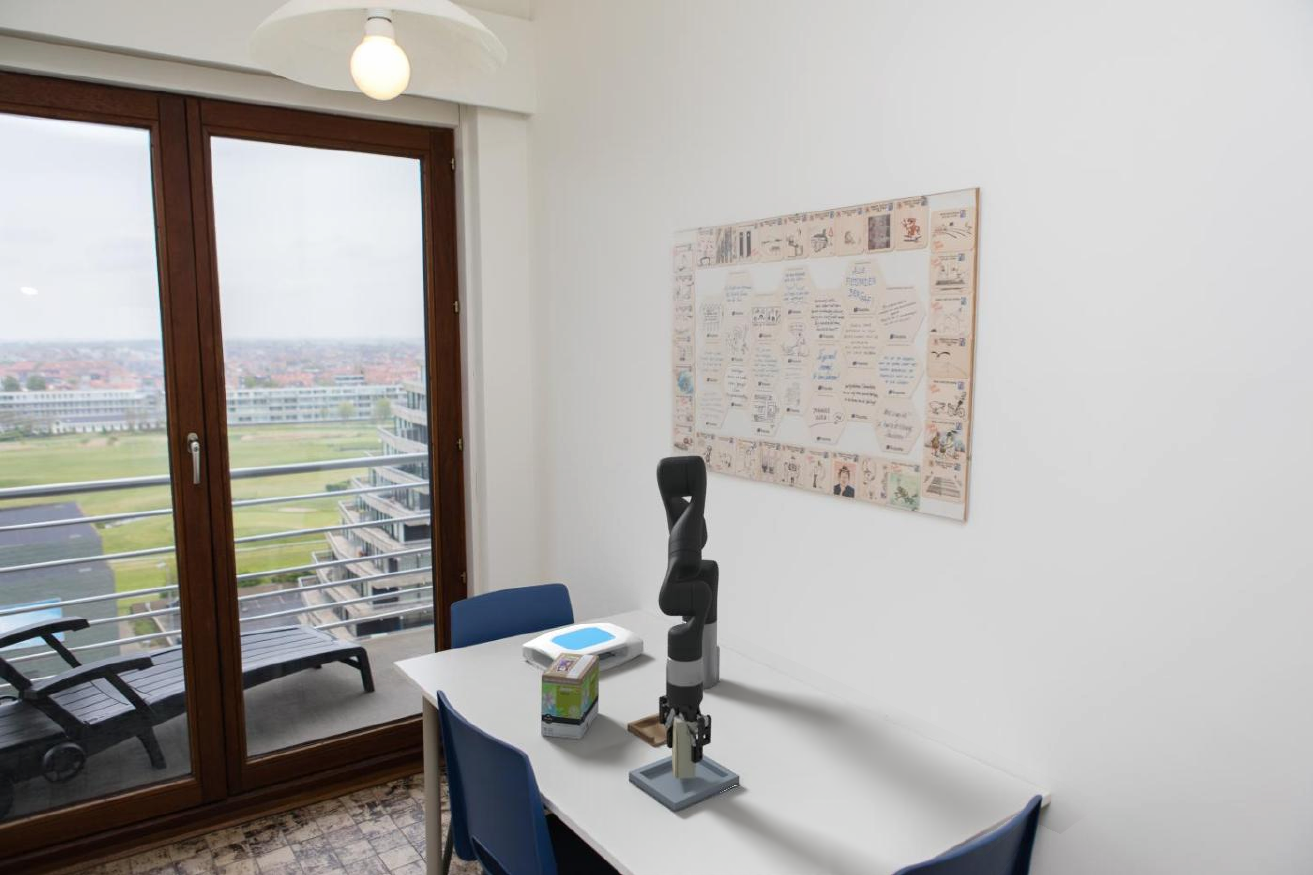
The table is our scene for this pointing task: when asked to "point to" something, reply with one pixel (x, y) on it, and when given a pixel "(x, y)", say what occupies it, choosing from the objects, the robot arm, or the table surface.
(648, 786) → the tray
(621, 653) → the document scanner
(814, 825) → the table surface
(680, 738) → the skincare box
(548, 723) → the tea box
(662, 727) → the holder
